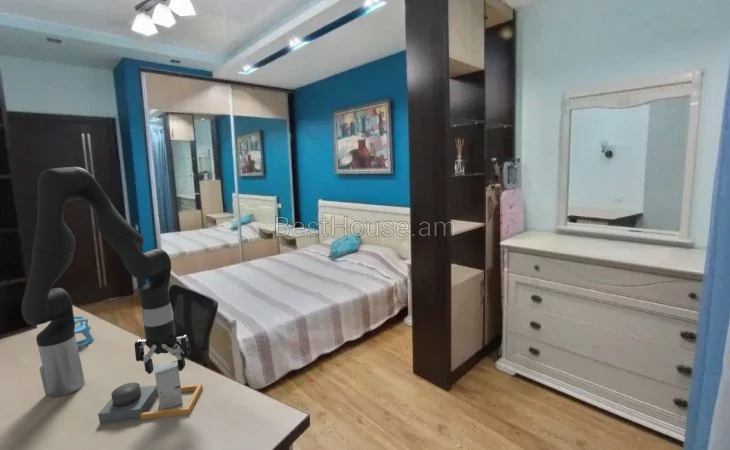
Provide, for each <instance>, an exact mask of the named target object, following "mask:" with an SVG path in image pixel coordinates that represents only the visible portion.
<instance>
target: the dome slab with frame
mask: <svg viewBox="0 0 730 450" xmlns="http://www.w3.org/2000/svg"><path fill="white" fill-rule="evenodd" d="M180 386H181V393H187V392H193V394H192V395H191V397H190V399H189V402H188V403H187V405H186V406H185V407H178V408H167V409H164V410H160V409H159V410H152V411H149V409H150V407H151V406H152V404H153V403H154V402H155V400H156V399H157V398H158V391H157V384H156V385H155V384H154V385H147V386H140V383H138V382H128V383H125V384H124V383H123V384H122V385H119V386H117V387H116V388H114V390H113V391H112V392H111V395H110V396H111V398H110V399H109V400H108V402H107V403H106V404H105V406H103V407H102V409H101V410H100V411H99V412H98V413H97V415H98V420H99V421H98V422H99V424H107V423H114V422H115V423H116V422H124V421H125V422H126V421H131V420H132V421H133V420H141V421H142V420H149V419H150V420H151V419H157V418H158V419H159V418H167V417H174V416H176V417H177V416H182V415H189V414H190V413H191V411H192V410H193V408H194V406H195V404H196V401H197V400H198V398H199V396H200V394H201V392H202V390H203V383H197V384H188V385H187V384H186V385H180Z"/></svg>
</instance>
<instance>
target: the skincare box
mask: <svg viewBox="0 0 730 450" xmlns="http://www.w3.org/2000/svg"><path fill="white" fill-rule="evenodd" d="M153 370H154V375H155V381H156V382H155V383H156V385H157V391H158V396H157V398H158V404H159V410H168V409H171V408H172V407H176V406H178V405H181V404H182V403H183V396H182V392H181V386H182V385H181V379H180V371H179V369H178V362H177V360H173V361H169V362H165V363H161V364H159V365H153Z"/></svg>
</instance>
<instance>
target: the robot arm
mask: <svg viewBox="0 0 730 450" xmlns="http://www.w3.org/2000/svg"><path fill="white" fill-rule="evenodd" d="M79 200H82V201H84V202H85V203H86V204H87V205H89V206H90V208H91V209H92V210H93V212H94V215H95V220H96V226H97V229H98V231H99V234H100V235H101V237H102V238H103V239H104V240H105V241H106V242H107V244H109V246H111V247H112V248H113V250H115V252H117V253H118V255H119V257H120V259H121V261H122V263H123V265H124V266H125V269H126V270H127V271H128V273H129V274H130V275H131V276H132V277H133V278H135V279H138V280H139V281H140V280H141V281H145V280H148V281H147V282H146V283H145V284H144V285H143V286H142V287H141V288H140V290H139V296H140V303H141V309H142V310H141V311H142V312H141V313H142V314H141V315H142V322H143V323H142V324H143V329H144V330H143V331H144V335H145V338H146V339H143V338H141V337H139V338H138V339H137V340H136V341H135V342H134V355H135V361H136V362H143V364H144V370H145V373H147V374H148V375H151V374H152V373H153V372H154V363H153V358H152V356H153V355H154V354H156V355H160V354H168V353H169V354H170V355H172V356H174V357H175V358H176V359H177V360H176V361H177V365H178V370H179V372H182V371H183V370H184V368H185V367H186V365H187V364H186V360H185V358H188V357H189V355H190V354H191V352H192V348H191V343H190V340H189V335H188V334H186V333H185V334H184V335H181V336H178V335H177V334H176V325H175V324H176V323H175V318H174V317H175V316H174V315H175V314H174V311H173V307H172V304H171V296H170V291H169V286H170V282H171V280H170V279H171V273H172V261H171V258H170V255H169V254H168V253H167V252H166V251H165V250H163V249H162V248H154V249H151V250H149V251H146V252H142V251H141V250H140V249H141V248H142V247H143V244H144V242H145V241H144V237H143V236H142V235H141V233H139V232H138V231H137V230H136V229H135V228H134V227H133V226H132V225H131V224H130V223H129V222H128V221H127V220H126V218H124V217H123V215H122V214H120V212H119V211H118V210H117V209H116V207H115V205H114V204H113V203H112V202H111V200H110V198H109V197H108V196H107V194H106V193H105V192H104V190H103V188H101V185H100V184H99V183H98V182H97V180H96V179H95V178H94V177H93V175H92V174H91V173H90V172H89V171H87V170H86V169H85V168H82V167H80V166H67V167H54V168H48V169H45V170H43V171H42V172H41V173H40V174H39V177H38V181H37V218H36V225H35V227H36V228H35V235H34V236H35V237H34V240H33V247H32V252H31V253H32V254H31V263H30V269H29V275H28V279H27V280H28V281H27V284H26V288H25V290H24V294H23V298H22V301H21V316H22V318H23V320H24V321H25V322H26V323H27V324H28V325H29V326H30V325H31V326H39V325H43V324H46V323H48V324H47V326H46V327H45V328H43V329H42V330H41V331H40V332H39V333H38V334H37V335H36V337H35V338H36V345H37V348H38V353H39V357H40V361H41V362H40V363H41V366H40V367H39V374H40V376H41V377H40V378H41V382H42V385H43V390H44V393H45V394H44V395H45V396H50V397H53V398H56V397H62V396H67V395H69V394H72V393H74V392H76V391H78V390H80V389H81V388H83V386H84V385H85V383H86V380H85V375H84V371H83V367H82V361H81V356H80V352H79V349H78V346H79V345H78V344H77V342H76V341H77V338H76V334H75V332H74V329H75V327H76V324H75V321H74V320H75V319H74V317H75V315H74V306H73V302H72V298H71V296H70V294H69V293H68V291H66V289H64V288H62V287H55V288H52V287H54V284H55V283H56V282H57V281H58V280H59V279H60V278H61V277H62V275H63V274H64V273H65V272H66V271H67V270H68V268H69V267H70V265H71V263H72V262H73V259H74V254H75V248H76V238H75V235H74V234H73V232H72V230H71V229H70V228H69V227H68V225H67V224H66V223H65V221H64V209H65V205H66V203H68V202H73V201H79ZM177 343H179V344H177ZM145 346H147V348H148V349H149V351H148V352H147V353H146V354H145V349H144V347H145ZM181 348H182V349H181Z"/></svg>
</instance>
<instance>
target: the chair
mask: <svg viewBox="0 0 730 450" xmlns="http://www.w3.org/2000/svg"><path fill="white" fill-rule="evenodd" d="M74 321H75V329H74V332H75V335H76V334H82V335H83V336H84V337H85V338H83V339H80V340H76V342H77V346H78V350H79V349H81V348H83V347H85V346H86V345H88V344H90V343H93V342H95V339H94V336H92V334H91V333H90V329H92V328H91V326H89V325H88V324H89V318H84V315H83V316H74ZM84 322H85V323H84ZM79 323H80V324H79ZM76 324H79V325H76ZM78 344H79V345H78Z"/></svg>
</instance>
